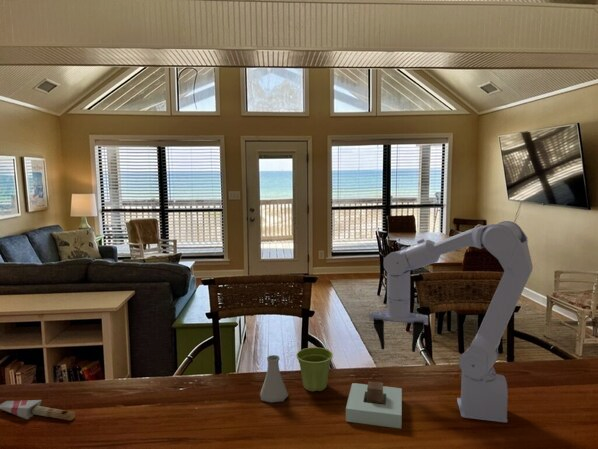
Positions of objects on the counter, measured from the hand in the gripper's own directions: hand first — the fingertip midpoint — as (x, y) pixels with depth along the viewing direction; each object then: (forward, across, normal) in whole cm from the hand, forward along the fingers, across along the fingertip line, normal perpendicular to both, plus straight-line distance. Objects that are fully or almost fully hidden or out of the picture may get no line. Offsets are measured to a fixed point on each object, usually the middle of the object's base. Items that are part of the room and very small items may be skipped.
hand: (398, 349), depth 105 cm
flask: (+10, +30, +12) cm, 34 cm away
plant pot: (+10, +21, +5) cm, 24 cm away
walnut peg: (+10, +5, +13) cm, 17 cm away
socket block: (+10, +5, +13) cm, 17 cm away
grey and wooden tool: (+10, +82, +32) cm, 88 cm away
